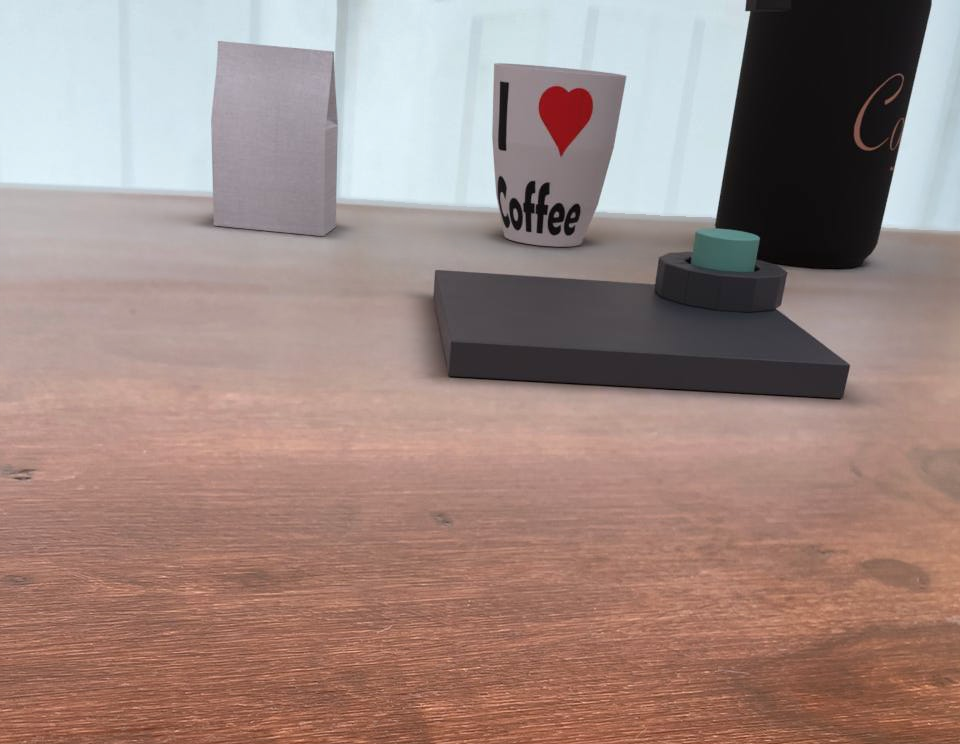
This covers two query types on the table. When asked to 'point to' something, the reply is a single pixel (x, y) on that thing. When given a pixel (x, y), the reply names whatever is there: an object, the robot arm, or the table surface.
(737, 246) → the button
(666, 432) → the table surface
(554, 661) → the table surface
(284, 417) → the table surface
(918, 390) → the table surface
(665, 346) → the scale
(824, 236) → the coffee jar
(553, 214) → the cup
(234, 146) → the grey paper bag
